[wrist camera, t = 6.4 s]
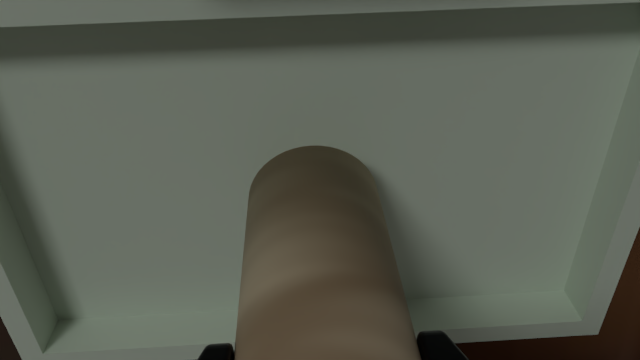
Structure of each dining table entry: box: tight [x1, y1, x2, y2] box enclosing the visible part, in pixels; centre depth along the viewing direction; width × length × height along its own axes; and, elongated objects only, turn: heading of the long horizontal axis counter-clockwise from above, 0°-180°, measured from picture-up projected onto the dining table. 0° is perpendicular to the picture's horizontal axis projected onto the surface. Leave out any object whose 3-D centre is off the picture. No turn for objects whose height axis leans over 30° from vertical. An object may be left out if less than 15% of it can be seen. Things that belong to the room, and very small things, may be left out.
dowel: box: [234, 146, 421, 360], centre depth 9 cm, size 3×3×8 cm
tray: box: [0, 0, 640, 360], centre depth 13 cm, size 16×10×2 cm, turn 91°
